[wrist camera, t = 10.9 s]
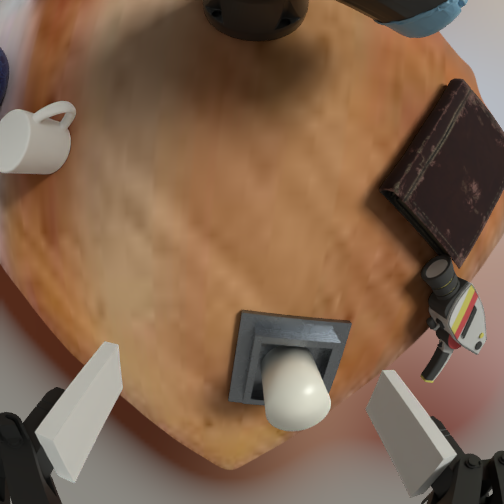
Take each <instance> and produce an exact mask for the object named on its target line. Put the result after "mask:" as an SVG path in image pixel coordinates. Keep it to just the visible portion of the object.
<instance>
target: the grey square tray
mask: <svg viewBox="0 0 504 504" xmlns="http://www.w3.org/2000/svg"><path fill="white" fill-rule="evenodd" d="M351 324H352V323H351V322H350V321H347V320H334V319H323V318H312V317H301V316H292V315H282V314H273V313H265V312H256V311H248V310H242V313H241V319H240V326H239V332H238V339H237V345H236V352H235V358H234V365H233V371H232V378H231V384H230V391H229V397H228V401H231V402H240V403H243V404H254V405H265V403H264V394H263V385H262V377H261V363H262V360H263V358H264V357H265V355H266V354H267V353H268V352H269V351H270V350H272V349H273V348H275V347H277V346H280V345H286V346H298V347H305V348H306V349H307V350H309V352H310V353H311V354H312V356H313V359H314V361H315V363H316V366H317V368H318V371H319V373H320V375H321V378H322V380H323V382H324V385H325V387H326V390H327V392H328V394H329V392H330V389H331V386H332V383H333V380H334V378H335V375H336V372H337V369H338V366H339V363H340V360H341V357H342V354H343V351H344V348H345V344H346V341H347V338H348V335H349V331H350V328H351Z"/></svg>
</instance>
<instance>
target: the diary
mask: <svg viewBox="0 0 504 504" xmlns="http://www.w3.org/2000/svg"><path fill="white" fill-rule="evenodd" d="M503 190H504V132H503V130H502V129H501V127H500V126H499V124H498V123H497V121H496V120H495V118H494V117H493V116H492V114H491V113H490V112H489V110H488V109H487V108H486V106H485V105H484V104H483V103H482V101H481V100H480V99H479V98H478V96H477V95H476V94H475V93H474V92H473V91H472V90H471V88H470V87H469V86H468V84H467V83H466V82H465V81H464V80H463V79H453V80H451V81H450V83H449V84H448V86H447V88H446V90H445V91H444V93H443V95H442V97H441V98H440V100H439V102H438V104H437V105H436V107H435V108H434V110H433V111H432V113H431V114H430V116H429V117H428V119H427V120H426V121H425V123H424V124H423V126H422V127H421V129H420V131H419V132H418V134H417V135H416V137H415V139H414V140H413V142H412V143H411V145H410V147H409V148H408V150H407V151H406V153H405V154H404V156H403V157H402V159H401V160H400V161H399V163H398V164H397V165H396V167H395V168H394V169H393V171H392V172H391V173H390V175H389V176H388V177H387V179H386V180H385V181H384V183H383V184H382V186H381V187H380V189H379V191H380V193H382V194H383V195H384V196H385V197H386V198H387V199H388V200H389V201H390V202H391V203H392V204H393V205H394V206H395V208H396V209H397V210H398V211H399V212H400V213H401V214H402V215H403V216H404V217H405V218H406V219H407V220H408V221H409V222H410V223H411V225H412V226H413V227H414V228H415V229H416V230H417V231H418V232H419V233H420V234H421V236H422V237H423V238H424V239H425V240H426V241H427V242H428V244H429V245H430V246H431V247H432V248H433V249H434V250H435V252H436V253H437V254H438V255H448V256H450V257H451V258H452V260H453V261H454V262H455V263H456V265H457V266H458V268H459V269H460V267H461V266H462V264H463V262H464V261H465V259H466V258H467V256H468V254H469V253H470V251H471V249H472V248H473V246H474V244H475V242H476V241H477V239H478V237H479V235H480V234H481V232H482V230H483V228H484V226H485V224H486V222H487V220H488V219H489V217H490V215H491V213H492V211H493V209H494V207H495V205H496V203H497V201H498V200H499V198H500V196H501V194H502V192H503Z"/></svg>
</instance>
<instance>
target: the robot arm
mask: <svg viewBox="0 0 504 504" xmlns="http://www.w3.org/2000/svg"><path fill="white" fill-rule="evenodd" d="M336 1H338V2H340V3H342V4H344V5H347V6H349V7H351V8H353V9H355V10H357V11H359V12H361V13H363V14H364V15H366V16H368V17H370V18H372V19H373V20H374V21H375V22H376V23H378V24H381V25H385V26H387V27H389V28H391V29H393V30H394V31H396V32H398V33H400V34H401V35H403V36H406V37H410V38H414V37H415V38H422V37H426V36H429V35H432V34H434V33H436V32H438V31H440V30H441V29H443V28H444V27H446V26H447V25H448V24H450V23H451V22H452V21H453V20H454V19H455V18H456V17H457V16H458V15H459V14H460V12H461V7H463V6H465V5H466V3H467V1H468V0H336ZM308 3H309V2H308V0H203V7H204V12H205V15H206V17H207V19H208V21H209V22H210V23H211V24H212V25H213V26H214V27H215V28H216V29H217V30H219V31H221V32H222V33H224V34H226V35H229V36H231V37H234V38H238V39H243V40H250V41H265V40H272V39H277V38H280V37H283V36H285V35H288V34H290V33H291V32H293V31H294V30H296V29H297V28H298V27H299V26H300V25H301V23H302V22H303V20H304V18H305V15H306V13H307V10H308ZM122 389H123V385H122V377H121V367H120V356H119V345H118V344H113V343H109V342H105V341H104V343H103V344H102V345H101V346H100V348H99V349H98V350H97V351H96V352H95V354H94V355H93V356H92V357H91V359H90V360H89V361H88V362H87V364H86V365H85V366H84V367H83V369H82V370H81V371H80V372H79V374H78V375H77V376H76V377H75V379H74V380H73V382H72V383H71V384H70V385H69V387H68V388H67V389H66V390H64V389H61V388H58V387H56V388H54V389H52V390H50V391H49V392H47V393H46V395H45V396H44V397H43V398H42V401H40V402H39V403H38V404H37V407H35V408H34V409H33V411H32V412H31V413H30V414H29V416H28V417H27V418H26V420H25V421H24V422H23V423H22V421H21V419H20V418H19V417H18V416H17V415H16V414H13V413H9V412H4V413H0V504H10V497H11V501H12V504H62V503H61V500H60V498H59V495H58V493H57V490H56V487H55V485H54V482H53V479H52V477H51V475H50V474H51V472H52V470H53V468H54V470H55V472H56V473H57V475H58V476H59V477H62V478H64V479H66V480H68V481H71V482H73V483H75V482H76V480H77V478H78V475H79V473H80V471H81V469H82V467H83V465H84V463H85V461H86V459H87V457H88V455H89V453H90V451H91V449H92V447H93V445H94V442H95V441H96V438H97V437H98V435H99V433H100V431H101V429H102V427H103V425H104V423H105V421H106V419H107V417H108V415H109V413H110V411H111V410H112V408H113V406H114V404H115V402H116V400H117V398H118V396H119V395H120V393H121V391H122ZM366 411H367V413H368V415H369V417H370V419H371V421H372V423H373V425H374V427H375V429H376V431H377V433H378V434H379V436H380V438H381V440H382V442H383V444H384V446H385V448H386V450H387V452H388V454H389V456H390V458H391V460H392V462H393V464H394V466H395V468H396V470H397V472H398V474H399V476H400V478H401V480H402V482H403V484H404V486H405V488H406V490H407V492H408V494H409V496H410V498H411V497H414V496H417V495H420V494H423V493H424V492H425V491H426V490H427V489H428V488H429V487H430V486H431V487H432V488H433V491H432V492H431V493H430V494H429V495H428V496H427V497H426V498H425V499H424V500H423V501H422V503H421V504H424V503H425V502H426V501H427V500H428V502H427V504H504V451H498V452H497V453H495V455H494V456H493V457H492V458H491V459H488V460H481V459H480V458H479V457H478V456H476V455H474V454H464V452H463V451H462V449H461V448H460V447H459V446H458V444H457V443H456V441H455V440H454V439H453V437H452V436H451V435H450V433H449V432H448V431H447V430H446V428H445V427H444V425H443V424H442V423H441V422H440V421H439V420H438V419H436V418H435V417H434V416H431V417H430V416H429V415H428V414H427V412H426V411H425V410H424V408H423V407H422V406H421V404H420V403H419V402H418V400H417V399H416V398H415V396H414V395H413V394H412V392H411V391H410V390H409V389H408V387H407V386H406V385H405V383H404V382H403V381H402V380H401V378H400V377H399V376H398V375H397V373H396V372H395V370H382V372H381V375H380V377H379V380H378V382H377V385H376V387H375V389H374V392H373V394H372V396H371V398H370V401H369V403H368V405H367V407H366ZM491 489H492V490H493V494H492V495H491V496H489V493H488V492H489V491H490V490H491Z"/></svg>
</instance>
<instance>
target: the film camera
mask: <svg viewBox="0 0 504 504" xmlns="http://www.w3.org/2000/svg"><path fill="white" fill-rule="evenodd" d="M421 277H422V279H423V280H424V281H425V282H426V283H427V284H428V285H429V286H430V287H431V288H432V290H433V293H432V294H431V296H430V297H429V301H428V302H429V313H430V315H431V316H432V317H430V318H428V319H427V324H428V326H429V327H430V329H433V330H435V331H436V335H437V337H438V338H439V339H440V340H439V344H438V347H437V349H436V351H435V353H434V355H433V357H432V358H431V360H430V362H429V363H428V365H427V367H426V368H425V369H424V371H423V372H422V374H421V378H422V379H423V380H424V381H425V382H431V383H433V382H434V379H435V378H436V377H437V375H438V374H439V373H440V372H441V370H442V369H443V368H444V366H445V364H446V363H447V361H448V360H449V358H450V356H451V354H452V353H453V350H454V349H457V348H459V347H461V346H463V347H464V348H466V349H468V350H469V351H471V352H473V353H475V354H478V353H479V351H480V350H481V348H482V346H483V344H484V343H485V341H486V324H485V314H484V308H483V305H482V302H481V300H480V297H479V295H478V293H477V291H476V289H475V288H474V286H473V284H472V283H470V282H468V281H466V280H463V279H461V278H459V277H457V276H456V274H455V272H454V269H453V264H452V260H451V258H450V256H448V255H439V256H436V257H434V258H433V259H431V260H430V261H429V262H428V263H427V264H426V265H425V266H424V268H423V269H422V272H421Z"/></svg>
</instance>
